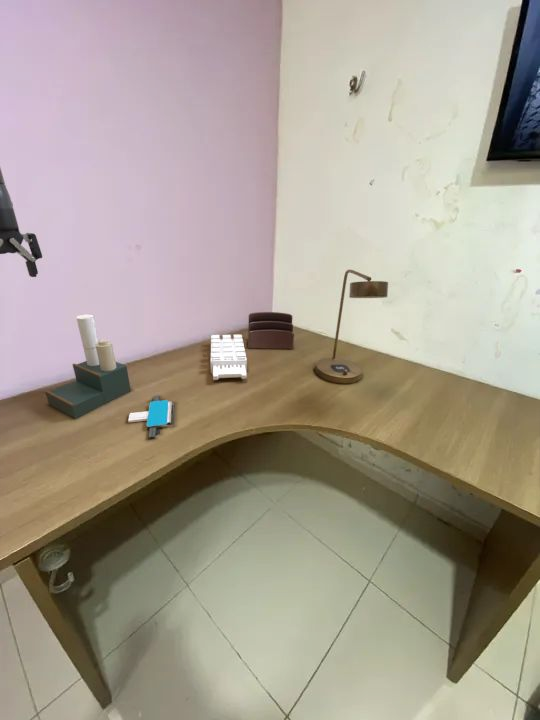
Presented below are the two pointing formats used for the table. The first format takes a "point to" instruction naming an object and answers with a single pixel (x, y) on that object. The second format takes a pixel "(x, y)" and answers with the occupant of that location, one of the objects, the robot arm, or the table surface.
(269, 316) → the letter holder
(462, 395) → the table surface
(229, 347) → the organizer
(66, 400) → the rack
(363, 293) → the lamp
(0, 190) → the robot arm
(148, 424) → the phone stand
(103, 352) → the cream capped cylinder
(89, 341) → the tube
